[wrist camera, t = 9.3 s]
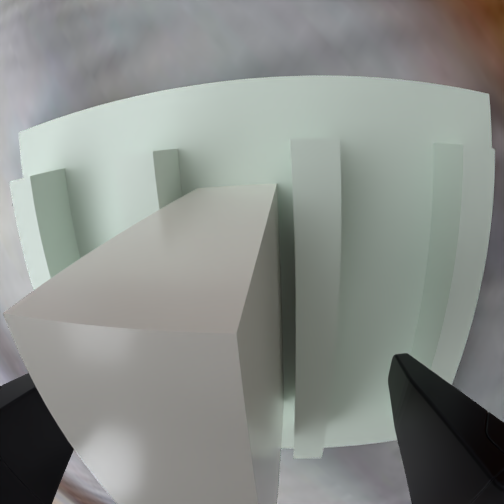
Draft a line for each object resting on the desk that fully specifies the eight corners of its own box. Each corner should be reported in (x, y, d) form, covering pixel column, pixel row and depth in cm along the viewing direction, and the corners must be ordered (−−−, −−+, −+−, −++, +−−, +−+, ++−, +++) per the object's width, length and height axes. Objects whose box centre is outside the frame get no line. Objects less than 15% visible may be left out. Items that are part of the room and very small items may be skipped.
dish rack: (475, 96, 9) (522, 89, 6) (423, 421, 14) (437, 462, 11) (33, 131, 11) (-16, 136, 8) (110, 415, 16) (90, 450, 13)
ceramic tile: (276, 183, 10) (236, 333, 2) (283, 401, 13) (269, 577, 5) (197, 188, 10) (3, 313, 3) (226, 400, 13) (183, 567, 5)
